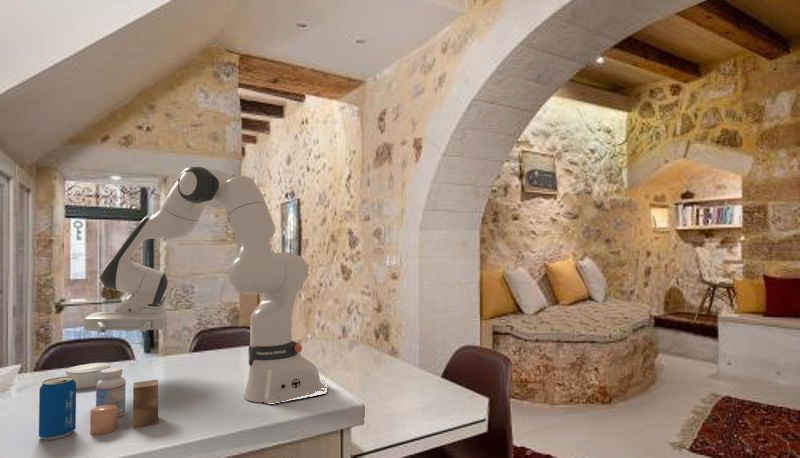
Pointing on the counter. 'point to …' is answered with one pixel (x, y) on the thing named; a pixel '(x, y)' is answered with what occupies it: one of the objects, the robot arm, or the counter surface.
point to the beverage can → (57, 408)
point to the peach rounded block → (103, 419)
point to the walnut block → (145, 403)
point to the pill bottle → (111, 389)
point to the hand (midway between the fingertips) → (122, 329)
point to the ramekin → (87, 374)
